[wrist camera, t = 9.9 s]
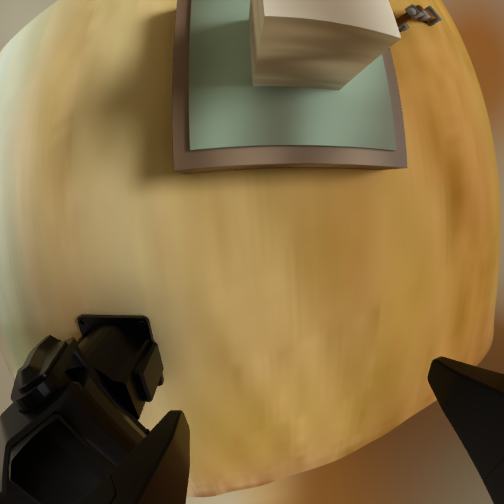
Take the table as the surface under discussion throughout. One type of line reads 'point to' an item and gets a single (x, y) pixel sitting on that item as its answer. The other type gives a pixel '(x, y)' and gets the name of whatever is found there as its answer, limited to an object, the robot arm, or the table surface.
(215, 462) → the table surface
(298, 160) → the brown and green tray
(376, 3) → the maple block
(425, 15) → the grey brown jointed piece
